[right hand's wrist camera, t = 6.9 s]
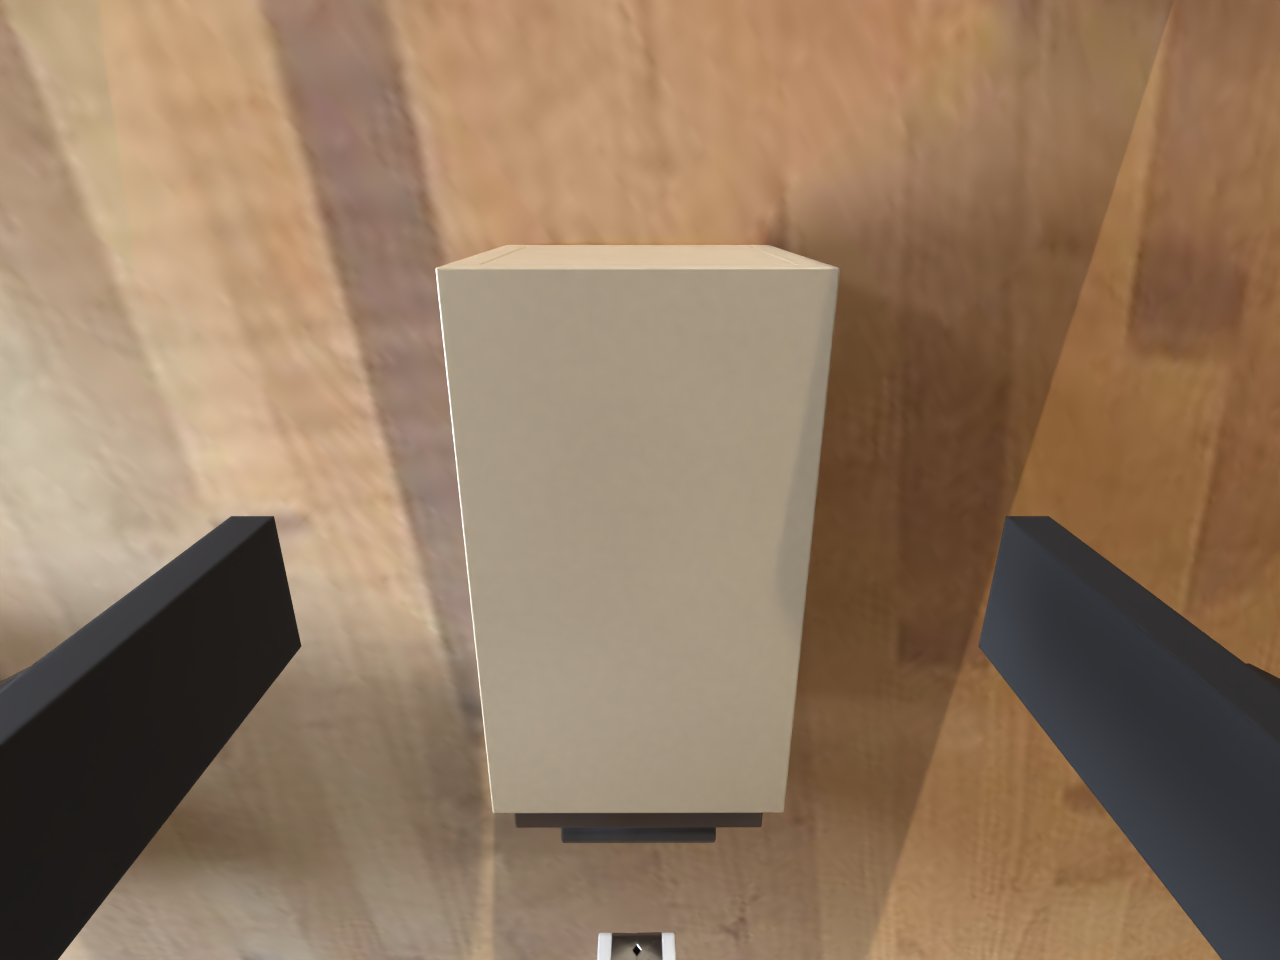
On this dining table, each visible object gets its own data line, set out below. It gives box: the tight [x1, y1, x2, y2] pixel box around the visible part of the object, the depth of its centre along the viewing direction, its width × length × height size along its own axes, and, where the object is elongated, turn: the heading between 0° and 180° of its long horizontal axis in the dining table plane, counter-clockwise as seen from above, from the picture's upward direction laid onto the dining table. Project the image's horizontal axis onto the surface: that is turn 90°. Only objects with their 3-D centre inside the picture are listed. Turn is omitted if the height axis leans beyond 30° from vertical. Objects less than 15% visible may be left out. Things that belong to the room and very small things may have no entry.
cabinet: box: [436, 245, 840, 813], centre depth 28 cm, size 20×11×11 cm, turn 0°
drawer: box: [514, 813, 763, 843], centre depth 30 cm, size 25×10×9 cm, turn 0°
